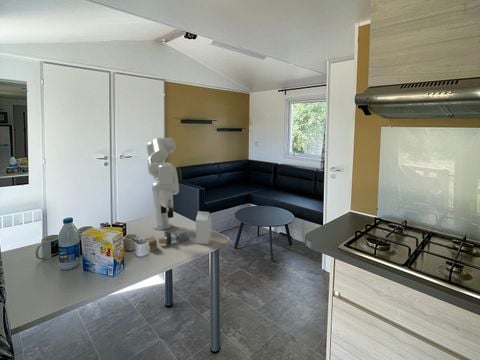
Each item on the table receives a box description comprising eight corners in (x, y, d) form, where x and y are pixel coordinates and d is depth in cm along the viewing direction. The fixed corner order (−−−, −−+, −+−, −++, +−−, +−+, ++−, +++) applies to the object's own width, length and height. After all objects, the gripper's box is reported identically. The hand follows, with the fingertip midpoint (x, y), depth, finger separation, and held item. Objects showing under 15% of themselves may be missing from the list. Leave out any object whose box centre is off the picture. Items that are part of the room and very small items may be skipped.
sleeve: (174, 240, 169) (174, 231, 168) (185, 237, 173) (185, 228, 172) (178, 243, 165) (178, 234, 164) (189, 240, 169) (189, 231, 168)
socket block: (146, 247, 159) (145, 237, 158) (152, 245, 161) (152, 235, 160) (149, 251, 154) (149, 241, 153) (156, 249, 156) (156, 239, 155)
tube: (158, 244, 162) (158, 233, 160) (185, 237, 172) (185, 227, 171) (161, 246, 159) (160, 235, 158) (187, 239, 169) (187, 229, 168)
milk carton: (207, 244, 164) (207, 214, 160) (196, 243, 165) (195, 213, 161) (211, 239, 170) (211, 210, 167) (200, 238, 172) (199, 209, 168)
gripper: (153, 184, 161) (155, 212, 164) (165, 190, 147) (166, 220, 151) (166, 183, 165) (167, 210, 169) (178, 188, 152) (179, 218, 155)
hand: (167, 215), depth 160 cm, fingers open, 9 cm apart
